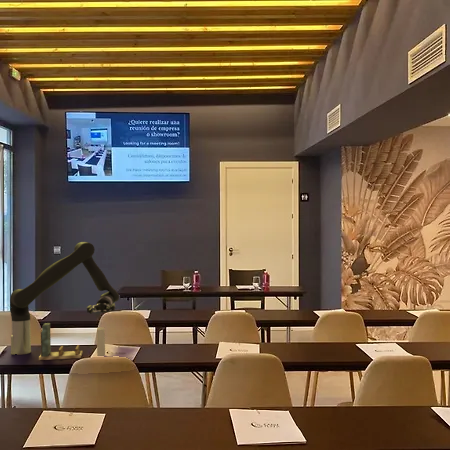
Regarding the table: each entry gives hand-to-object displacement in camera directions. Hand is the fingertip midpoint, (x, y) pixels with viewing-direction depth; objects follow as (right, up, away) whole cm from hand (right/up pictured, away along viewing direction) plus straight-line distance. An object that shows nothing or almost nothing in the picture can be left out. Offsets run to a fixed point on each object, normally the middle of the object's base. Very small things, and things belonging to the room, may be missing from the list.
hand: (98, 311), depth 288 cm
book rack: (-17, -22, -7) cm, 29 cm away
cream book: (+3, -22, -8) cm, 23 cm away
